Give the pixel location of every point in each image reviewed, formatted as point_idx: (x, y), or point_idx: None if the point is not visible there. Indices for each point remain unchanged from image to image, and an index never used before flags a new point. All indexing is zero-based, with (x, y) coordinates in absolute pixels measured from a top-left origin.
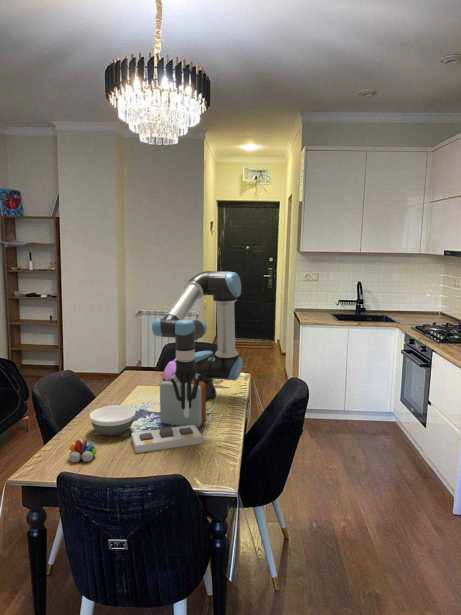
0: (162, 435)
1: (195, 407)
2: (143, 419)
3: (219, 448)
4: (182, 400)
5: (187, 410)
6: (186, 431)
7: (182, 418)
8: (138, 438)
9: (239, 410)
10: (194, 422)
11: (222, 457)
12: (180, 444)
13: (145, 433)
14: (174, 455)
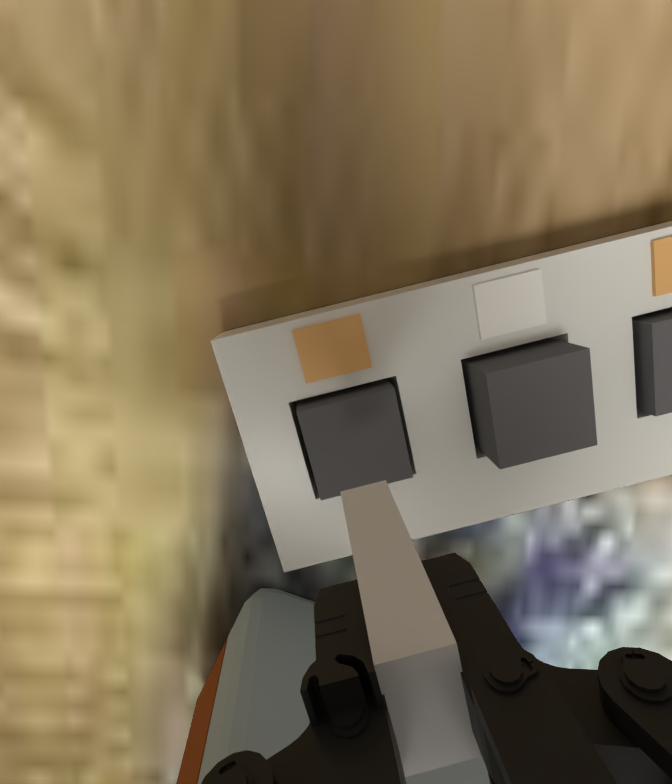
0: (569, 345)
1: (261, 751)
2: None
3: (72, 220)
4: (537, 672)
5: (373, 538)
6: (354, 415)
7: None
8: None
9: None
10: (282, 620)
11: (32, 24)
12: (399, 290)
13: None
14: (449, 126)
